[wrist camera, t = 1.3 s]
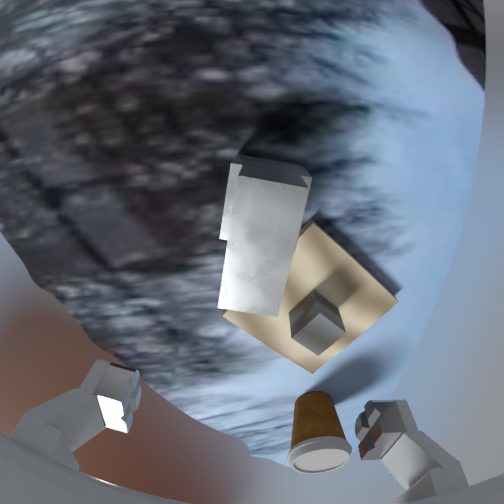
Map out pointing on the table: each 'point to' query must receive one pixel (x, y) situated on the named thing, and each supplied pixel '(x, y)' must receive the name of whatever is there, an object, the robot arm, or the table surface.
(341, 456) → the disposable coffee cup
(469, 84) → the table surface
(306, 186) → the grey stepped block
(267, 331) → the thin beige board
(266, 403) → the table surface
